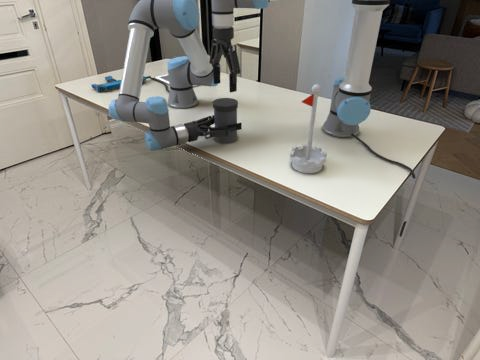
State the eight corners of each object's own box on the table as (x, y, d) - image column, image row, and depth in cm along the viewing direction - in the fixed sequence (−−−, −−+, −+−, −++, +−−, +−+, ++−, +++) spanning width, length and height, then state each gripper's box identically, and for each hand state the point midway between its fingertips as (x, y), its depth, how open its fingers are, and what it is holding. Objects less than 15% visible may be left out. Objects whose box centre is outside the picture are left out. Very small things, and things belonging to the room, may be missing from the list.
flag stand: (312, 154, 131) (323, 76, 115) (332, 170, 121) (346, 88, 105) (282, 160, 128) (289, 80, 111) (300, 177, 117) (309, 93, 101)
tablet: (154, 77, 217) (153, 77, 217) (181, 71, 228) (180, 71, 228) (181, 89, 196) (181, 89, 196) (209, 82, 208) (209, 82, 207)
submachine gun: (137, 69, 223) (155, 75, 206) (138, 75, 225) (156, 81, 208) (84, 79, 204) (99, 87, 188) (85, 85, 206) (101, 94, 190)
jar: (238, 133, 147) (238, 99, 139) (235, 143, 140) (235, 107, 131) (217, 132, 148) (215, 98, 140) (213, 142, 140) (211, 106, 132)
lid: (239, 103, 140) (239, 98, 139) (236, 112, 132) (236, 107, 130) (215, 102, 141) (214, 97, 140) (210, 111, 133) (210, 106, 131)
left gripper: (176, 131, 143) (223, 120, 152) (197, 153, 127) (248, 139, 136) (174, 114, 139) (222, 104, 148) (196, 135, 123) (248, 122, 132)
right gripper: (251, 30, 113) (250, 94, 125) (215, 21, 130) (217, 78, 142) (232, 32, 110) (233, 97, 122) (198, 23, 127) (201, 81, 139)
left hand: (235, 121), depth 142 cm, fingers closed on jar, 9 cm apart
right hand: (224, 87), depth 132 cm, fingers open, 11 cm apart
